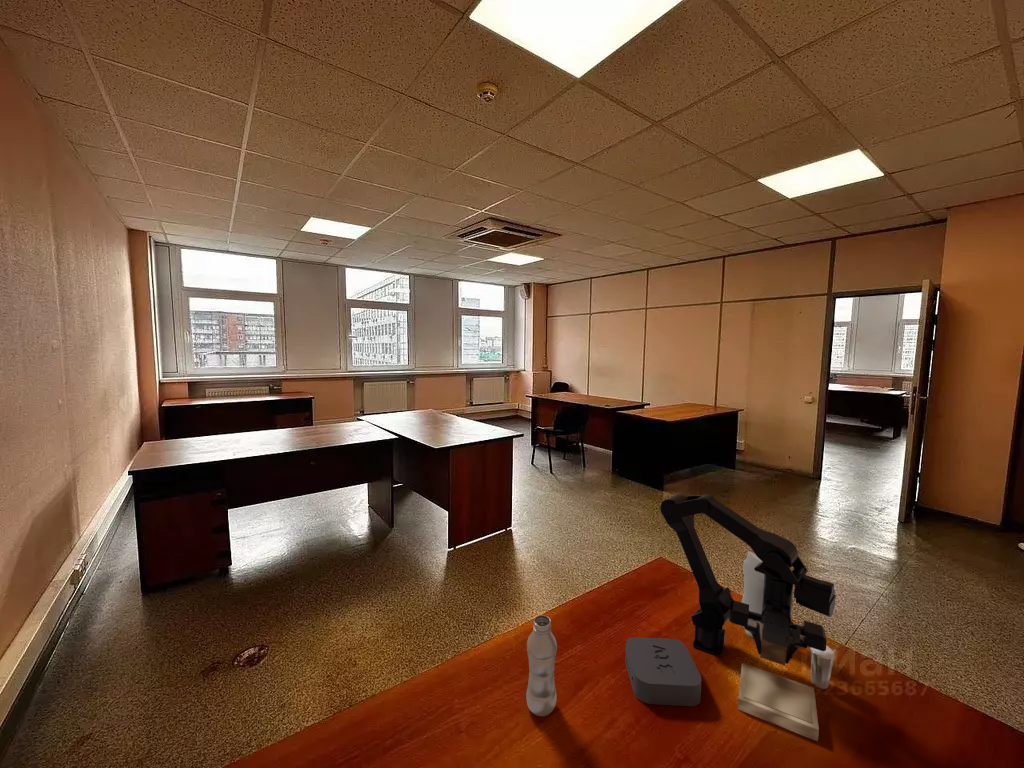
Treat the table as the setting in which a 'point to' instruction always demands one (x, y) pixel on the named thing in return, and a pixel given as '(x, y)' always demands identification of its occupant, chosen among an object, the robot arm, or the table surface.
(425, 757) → the table surface
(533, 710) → the plastic bottle
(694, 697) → the streaming box
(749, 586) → the grey ridged slab
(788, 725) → the base
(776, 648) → the walnut block
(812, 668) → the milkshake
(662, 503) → the robot arm
